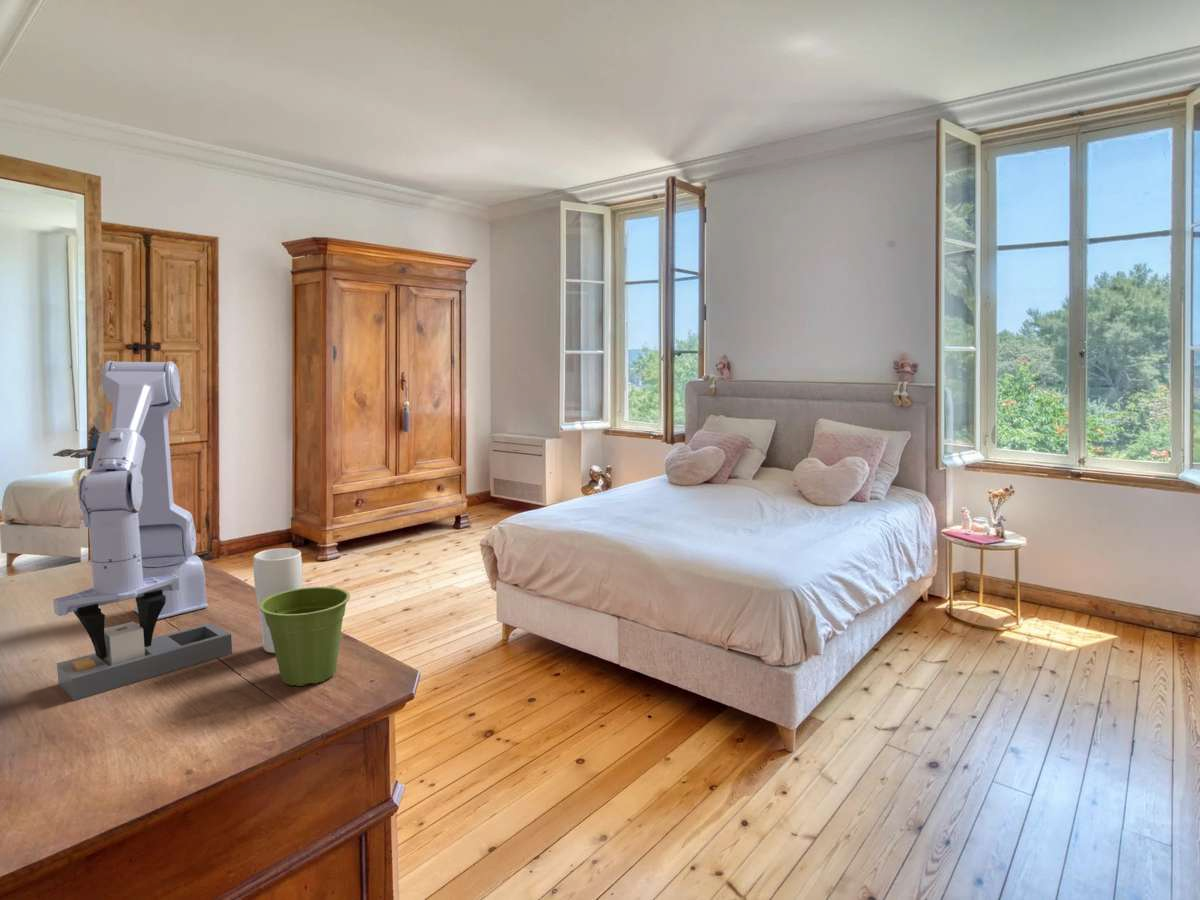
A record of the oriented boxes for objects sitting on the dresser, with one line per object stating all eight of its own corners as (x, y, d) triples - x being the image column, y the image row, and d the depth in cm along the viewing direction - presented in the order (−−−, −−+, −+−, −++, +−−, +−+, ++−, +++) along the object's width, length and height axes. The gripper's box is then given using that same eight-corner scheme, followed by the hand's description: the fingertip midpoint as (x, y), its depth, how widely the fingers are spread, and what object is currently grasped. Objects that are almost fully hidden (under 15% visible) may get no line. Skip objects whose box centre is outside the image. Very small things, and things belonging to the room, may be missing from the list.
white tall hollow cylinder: (258, 660, 106) (253, 562, 104) (257, 643, 112) (252, 550, 110) (307, 651, 109) (303, 556, 107) (303, 636, 115) (299, 545, 113)
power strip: (212, 640, 113) (211, 619, 112) (232, 653, 108) (230, 631, 108) (58, 684, 98) (56, 659, 97) (73, 700, 93) (71, 675, 93)
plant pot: (363, 657, 108) (360, 585, 106) (336, 695, 96) (333, 615, 94) (283, 657, 107) (280, 585, 106) (247, 695, 96) (242, 614, 94)
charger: (136, 661, 104) (133, 620, 103) (146, 669, 101) (142, 627, 100) (104, 670, 101) (100, 628, 100) (113, 678, 98) (109, 636, 97)
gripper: (60, 574, 90) (70, 676, 92) (185, 551, 101) (191, 642, 103) (45, 563, 95) (55, 660, 97) (166, 542, 106) (172, 629, 108)
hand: (124, 650), depth 100 cm, fingers open, 5 cm apart
